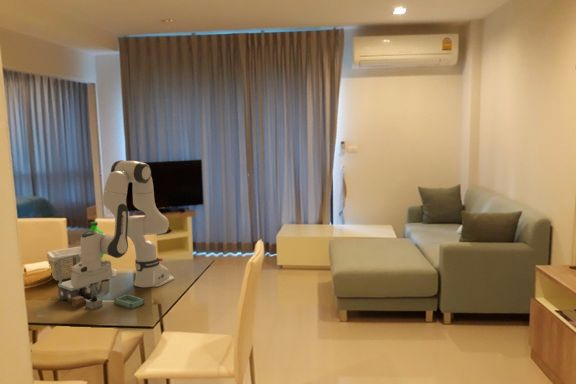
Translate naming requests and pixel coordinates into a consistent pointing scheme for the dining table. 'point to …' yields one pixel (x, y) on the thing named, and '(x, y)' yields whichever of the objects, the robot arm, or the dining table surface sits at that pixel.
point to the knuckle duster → (112, 273)
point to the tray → (129, 301)
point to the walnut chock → (77, 301)
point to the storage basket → (63, 261)
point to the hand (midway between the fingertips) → (93, 291)
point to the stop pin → (93, 292)
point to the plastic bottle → (94, 228)
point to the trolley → (69, 291)
